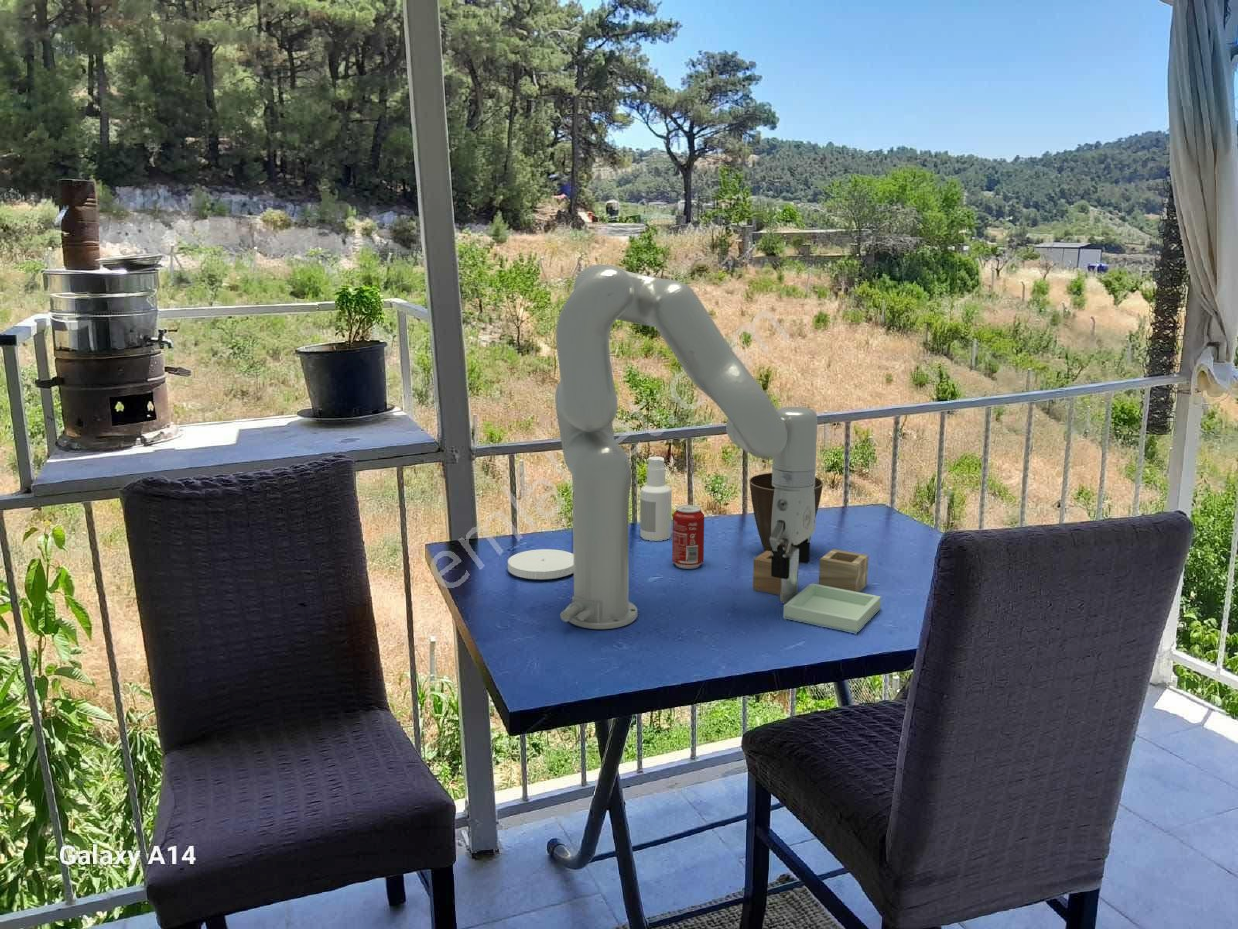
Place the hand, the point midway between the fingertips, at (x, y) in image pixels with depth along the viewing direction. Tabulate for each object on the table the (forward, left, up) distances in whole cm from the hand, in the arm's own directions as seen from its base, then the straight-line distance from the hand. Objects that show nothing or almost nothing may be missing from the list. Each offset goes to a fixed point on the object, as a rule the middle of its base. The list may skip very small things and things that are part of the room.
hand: (790, 569), depth 171 cm
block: (+5, +5, -6) cm, 9 cm away
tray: (-2, -9, -6) cm, 11 cm away
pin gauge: (0, 0, -6) cm, 6 cm away
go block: (+12, -6, -6) cm, 15 cm away
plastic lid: (-10, +48, -7) cm, 50 cm away
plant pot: (+24, +11, -6) cm, 27 cm away
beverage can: (+8, +25, -6) cm, 27 cm away
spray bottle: (+21, +40, -6) cm, 46 cm away
